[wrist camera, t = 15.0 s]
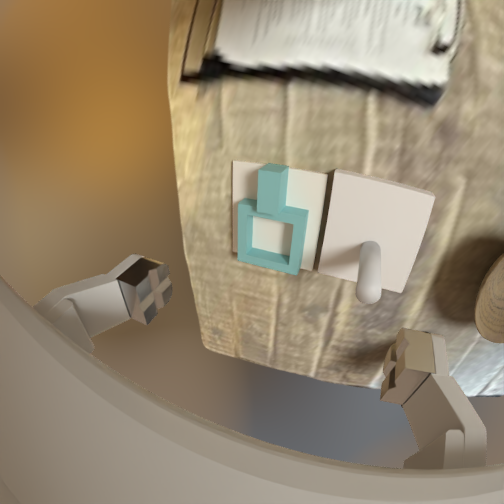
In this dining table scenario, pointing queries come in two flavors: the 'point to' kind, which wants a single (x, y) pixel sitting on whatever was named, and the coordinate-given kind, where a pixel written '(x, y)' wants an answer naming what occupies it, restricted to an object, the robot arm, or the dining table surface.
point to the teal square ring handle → (273, 208)
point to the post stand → (373, 232)
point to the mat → (298, 195)
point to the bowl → (491, 303)
